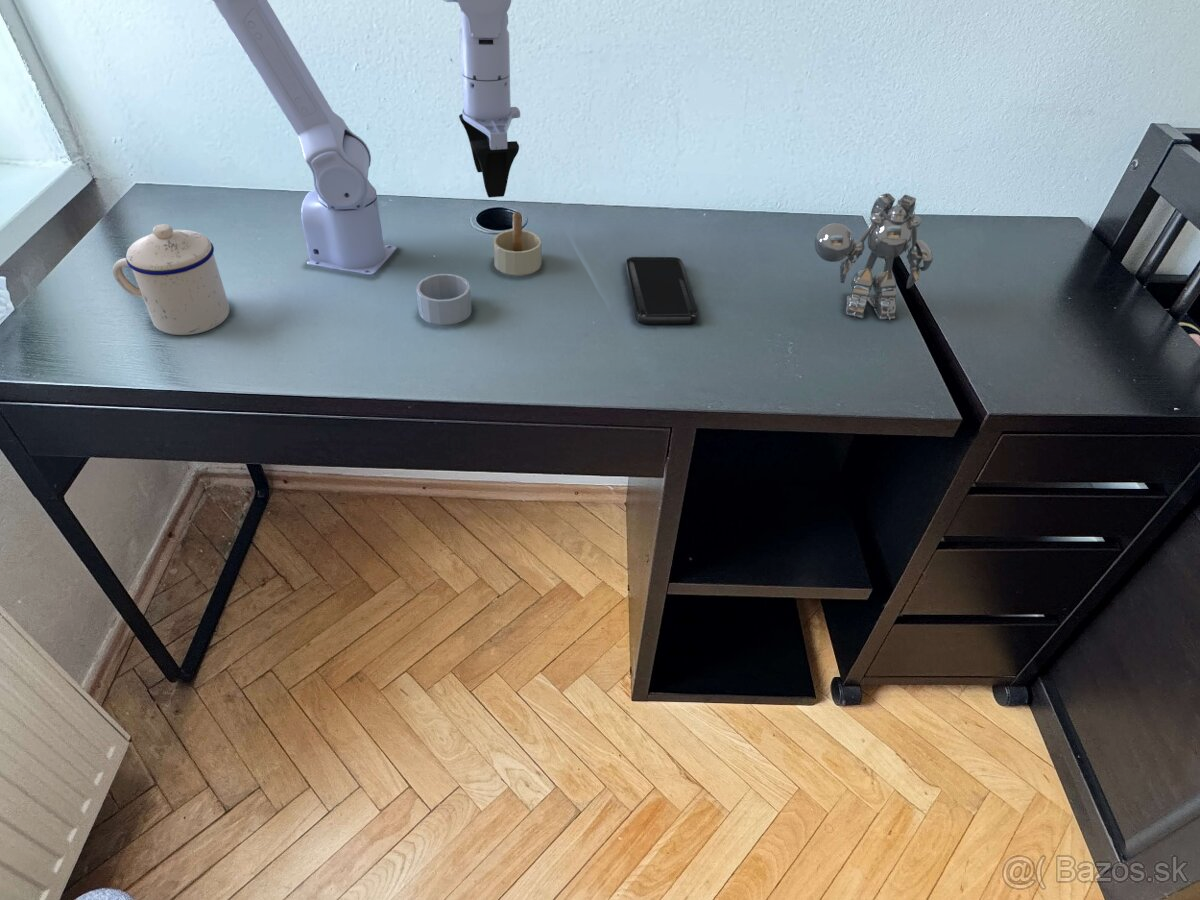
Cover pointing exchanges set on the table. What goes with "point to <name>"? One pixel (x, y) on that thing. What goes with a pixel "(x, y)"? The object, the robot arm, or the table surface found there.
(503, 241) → the cream cup
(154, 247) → the teacup with lid
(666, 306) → the phone
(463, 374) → the table surface
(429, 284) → the grey cup
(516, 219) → the wooden wall peg
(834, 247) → the robot toy
